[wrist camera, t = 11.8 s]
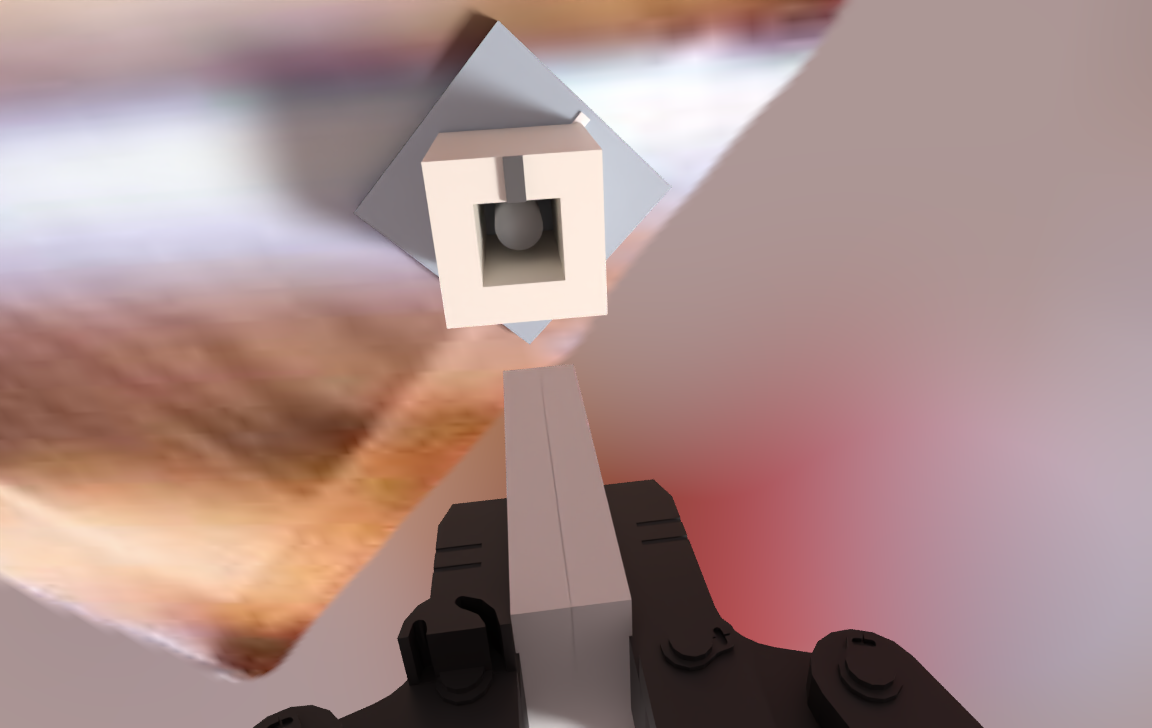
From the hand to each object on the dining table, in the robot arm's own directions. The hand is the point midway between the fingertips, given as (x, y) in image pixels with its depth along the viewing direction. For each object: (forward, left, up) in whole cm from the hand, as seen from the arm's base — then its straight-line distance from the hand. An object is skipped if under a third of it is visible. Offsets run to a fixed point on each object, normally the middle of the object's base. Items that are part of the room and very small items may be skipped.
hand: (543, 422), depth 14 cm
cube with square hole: (0, 0, -23) cm, 23 cm away
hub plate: (0, 0, -24) cm, 24 cm away
